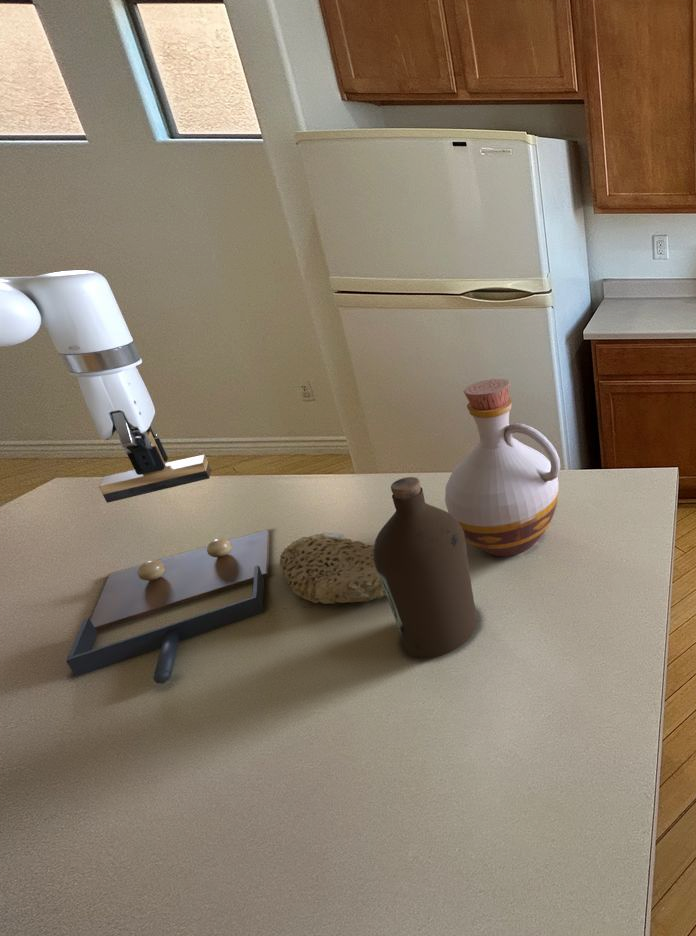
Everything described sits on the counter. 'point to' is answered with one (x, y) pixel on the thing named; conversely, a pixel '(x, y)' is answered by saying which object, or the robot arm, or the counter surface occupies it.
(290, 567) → the sponge
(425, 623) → the olive oil
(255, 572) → the dustpan
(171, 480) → the brush
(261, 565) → the board
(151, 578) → the ball
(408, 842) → the counter surface
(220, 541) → the ball
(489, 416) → the jug
